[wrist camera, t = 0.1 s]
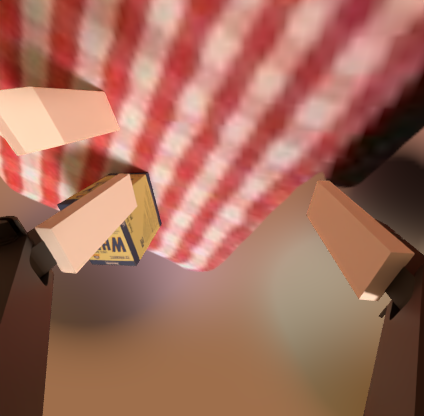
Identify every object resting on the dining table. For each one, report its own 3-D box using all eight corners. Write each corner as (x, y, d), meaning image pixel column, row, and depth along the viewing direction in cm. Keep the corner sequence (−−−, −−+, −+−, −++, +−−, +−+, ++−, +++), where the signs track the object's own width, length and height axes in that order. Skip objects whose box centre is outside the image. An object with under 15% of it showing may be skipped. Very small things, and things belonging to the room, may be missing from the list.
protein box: (148, 170, 43) (110, 202, 30) (162, 224, 51) (137, 267, 38) (108, 172, 45) (54, 203, 31) (128, 224, 52) (92, 266, 39)
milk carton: (105, 91, 36) (-4, 83, 19) (121, 129, 39) (40, 150, 23) (74, 99, 37) (-51, 99, 21) (92, 136, 40) (-3, 160, 24)
